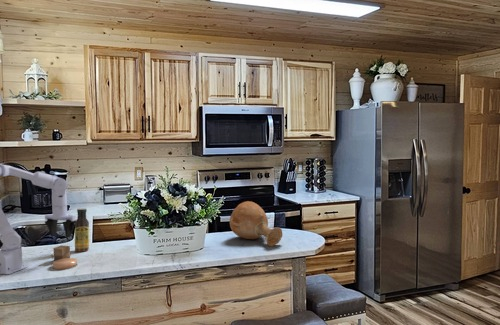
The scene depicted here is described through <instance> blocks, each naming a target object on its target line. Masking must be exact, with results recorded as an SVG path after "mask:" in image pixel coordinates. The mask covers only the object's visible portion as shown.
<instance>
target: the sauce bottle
mask: <svg viewBox="0 0 500 325" xmlns="http://www.w3.org/2000/svg"><path fill="white" fill-rule="evenodd" d="M76 213H77V217H76V222H75V224H74V251H75V252H76V253H84V252H87V251H88V250H90V225H89V224H90V221H89V220H88V219H87V208H86V207H84V208H83V207H82V208H81V207H80V208H77V209H76Z"/></svg>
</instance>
